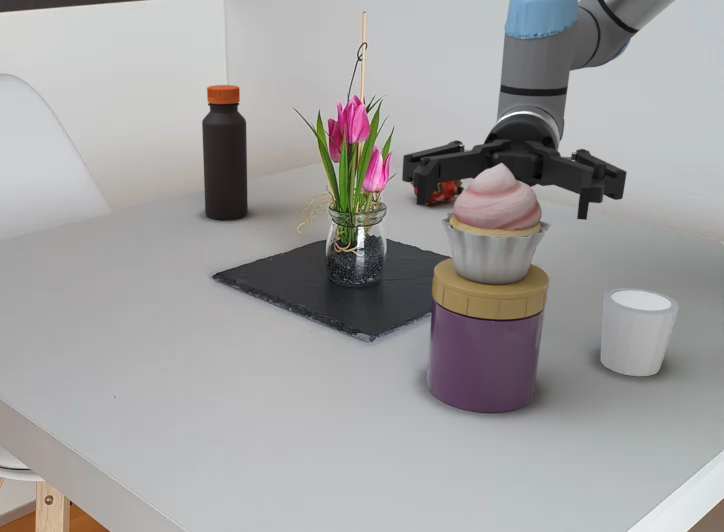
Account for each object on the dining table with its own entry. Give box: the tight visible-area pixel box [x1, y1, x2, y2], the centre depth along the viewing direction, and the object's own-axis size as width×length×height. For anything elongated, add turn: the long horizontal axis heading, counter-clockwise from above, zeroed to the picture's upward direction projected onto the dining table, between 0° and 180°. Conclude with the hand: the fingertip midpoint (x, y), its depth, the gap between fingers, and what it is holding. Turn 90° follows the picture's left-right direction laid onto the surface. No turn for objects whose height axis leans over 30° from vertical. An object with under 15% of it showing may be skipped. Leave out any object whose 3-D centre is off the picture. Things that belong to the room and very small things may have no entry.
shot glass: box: [599, 287, 680, 377], centre depth 83 cm, size 7×7×7 cm
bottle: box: [201, 84, 249, 221], centre depth 130 cm, size 7×7×20 cm
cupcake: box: [440, 163, 552, 284], centre depth 74 cm, size 9×9×10 cm
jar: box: [426, 297, 546, 414], centre depth 78 cm, size 10×10×11 cm
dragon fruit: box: [409, 180, 465, 206], centre depth 140 cm, size 8×8×12 cm
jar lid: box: [431, 257, 550, 319], centre depth 76 cm, size 10×10×2 cm
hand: (500, 196), depth 72 cm, fingers open, 13 cm apart
